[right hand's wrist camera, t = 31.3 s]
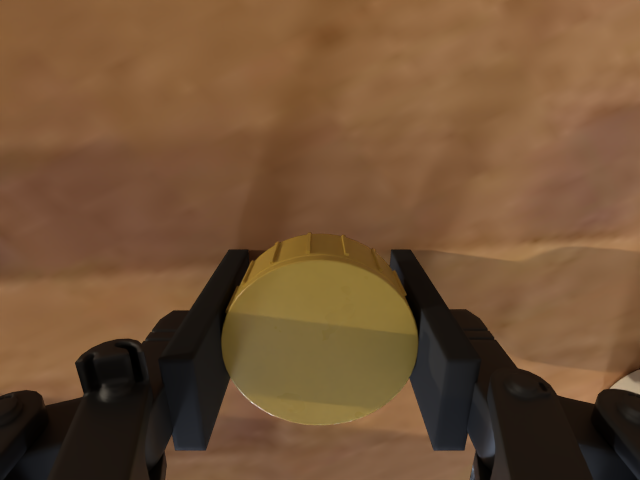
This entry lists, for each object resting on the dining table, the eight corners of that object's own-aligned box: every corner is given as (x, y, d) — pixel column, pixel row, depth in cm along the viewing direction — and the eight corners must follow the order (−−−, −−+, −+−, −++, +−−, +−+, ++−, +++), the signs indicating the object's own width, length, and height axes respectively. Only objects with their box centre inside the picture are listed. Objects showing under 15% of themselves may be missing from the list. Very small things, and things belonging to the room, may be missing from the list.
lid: (316, 405, 14) (315, 456, 12) (199, 308, 12) (175, 347, 10) (438, 314, 12) (461, 354, 10) (322, 193, 11) (323, 213, 9)
